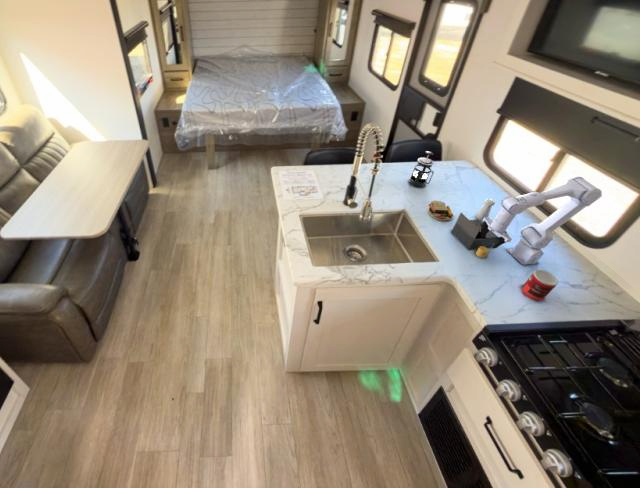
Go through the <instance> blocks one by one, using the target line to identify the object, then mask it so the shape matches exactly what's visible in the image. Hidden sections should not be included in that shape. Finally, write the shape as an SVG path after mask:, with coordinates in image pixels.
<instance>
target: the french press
mask: <svg viewBox="0 0 640 488" xmlns="http://www.w3.org/2000/svg"><path fill="white" fill-rule="evenodd" d="M424 154H426V155H427V156H426V157H422V156H421V157H418V158H417V164H415V165H414V167H413V171H412V174H411V176H410V179H409V180H408V184H409V185H411V186H412V187H414V188H418V189H421V188H425V186H426V184H427V185H429V184H430V183H431V181H432V178H433V176H434V173H435V171H434V170H432V167H433V165H434V164H435V162H434V160H432V159H431V158H429V156H432V155H434V153H433V152H432V151H428V150H426V151H425V153H424ZM417 167H422V169H421V170H420V169H418V168H417ZM427 169H428V170H429V171H426V170H427ZM430 174H431V175H430ZM429 176H430V177H429ZM428 179H429V181H428Z"/></svg>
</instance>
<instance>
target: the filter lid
mask: <svg viewBox="0 0 640 488" xmlns="http://www.w3.org/2000/svg"><path fill="white" fill-rule="evenodd" d="M470 220H471V219H469V218H468V217H467V216H465V214H464V213H463V212H460V214H459V215H458V217H457V219H456V222H457V223H458V224H459V225H460V226H461V227H462V228H463V229H464V230H465V231H466V232H467V233H468V234H470V235H471V236H472V237H473V238H474V239H475V238H476V236H477V234H478V233H479V231H480V230H479V229H478V228H477V227H476V226H475V225H474V224H473V223H472V222H471V221H470ZM456 222H455V223H456Z"/></svg>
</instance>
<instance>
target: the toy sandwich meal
mask: <svg viewBox="0 0 640 488" xmlns="http://www.w3.org/2000/svg"><path fill="white" fill-rule="evenodd" d="M427 209H428V213H429V214H430V216H431V217H432V218H434V219H436V220H438V221H442V222H446V221H451V220H453V218H454V213H453V212H452V210H451V208H450V206H449V205H446V203H445V202H444V201H441V200H432V201H431V202H430V203H428V208H427Z"/></svg>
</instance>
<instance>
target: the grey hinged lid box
mask: <svg viewBox="0 0 640 488" xmlns="http://www.w3.org/2000/svg"><path fill="white" fill-rule="evenodd" d="M469 220H470V221H471V222H472V223H473V224H474V225H475V226H476V227H477V228H478V229H479V230H480V231H479V233H478V234H477V236H476V238H475V239H474V238H473V237H472V236H471V235H470V234H468V233H467V232H466V231H465V230H464V229H463V228H462V227H461V226H460V225H459V224H458V223H457V222H455V223H454V225H453V227H452V229H451V233H452V234H453V235H454V236H455V237H456V238H457V239H458V240H459V241H460V242H461V243H462V245H464V247H466V249H467V250H475V249H479V247H480V246H484V247H486V248H492V245H493V244H494V242H495V238H496V237H499V235H498V234H497V233H495V232H494V231H490V230H489V232H488V233H487V235H486V236H485V237H480V233H481V225H480V224H481V223H483V221H480V220H479V219H476V218H475V219H469Z"/></svg>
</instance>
